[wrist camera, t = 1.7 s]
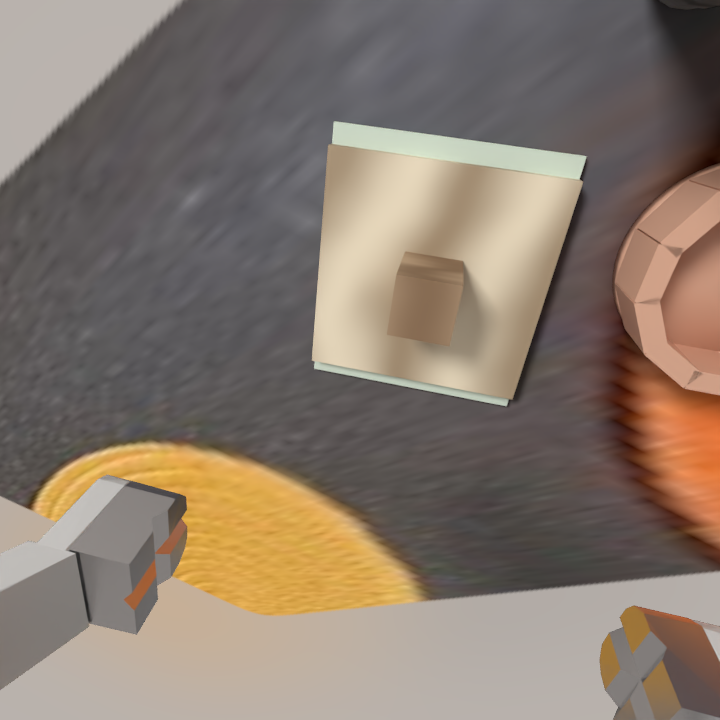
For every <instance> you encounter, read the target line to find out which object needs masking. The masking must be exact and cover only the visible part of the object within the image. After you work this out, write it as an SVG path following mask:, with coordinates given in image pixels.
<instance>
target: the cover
mask: <svg viewBox="0 0 720 720" xmlns="http://www.w3.org/2000/svg"><path fill="white" fill-rule="evenodd" d="M582 184H583V181H581V180H579V179H573V178H566V177H559V176H552V175H545V174H538V173H531V172H524V171H517V170H510V169H503V168H496V167H489V166H482V165H476V164H469V163H462V162H455V161H448V160H441V159H434V158H427V157H420V156H413V155H406V154H399V153H392V152H385V151H378V150H371V149H364V148H357V147H350V146H344V145H337V144H330V145H328V155H327V168H326V181H325V195H324V208H323V221H322V234H321V247H320V260H319V273H318V287H317V300H316V313H315V326H314V339H313V352H312V361H316V362H322V363H327V364H332V365H337V366H342V367H347V368H352V369H358V370H363V371H368V372H373V373H378V374H383V375H388V376H394V377H399V378H404V379H409V380H414V381H419V382H424V383H429V384H435V385H440V386H445V387H450V388H455V389H460V390H465V391H471V392H476V393H481V394H486V395H491V396H496V397H501V398H506V399H513V396H514V393H515V390H516V387H517V384H518V381H519V378H520V375H521V371H522V368H523V365H524V362H525V359H526V356H527V353H528V350H529V347H530V344H531V341H532V338H533V335H534V332H535V328H536V325H537V322H538V319H539V316H540V313H541V310H542V307H543V304H544V301H545V298H546V295H547V292H548V289H549V285H550V282H551V279H552V276H553V273H554V270H555V267H556V264H557V261H558V258H559V255H560V252H561V249H562V245H563V242H564V239H565V236H566V233H567V230H568V227H569V224H570V221H571V218H572V215H573V212H574V209H575V206H576V202H577V199H578V196H579V193H580V190H581V187H582Z"/></svg>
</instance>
